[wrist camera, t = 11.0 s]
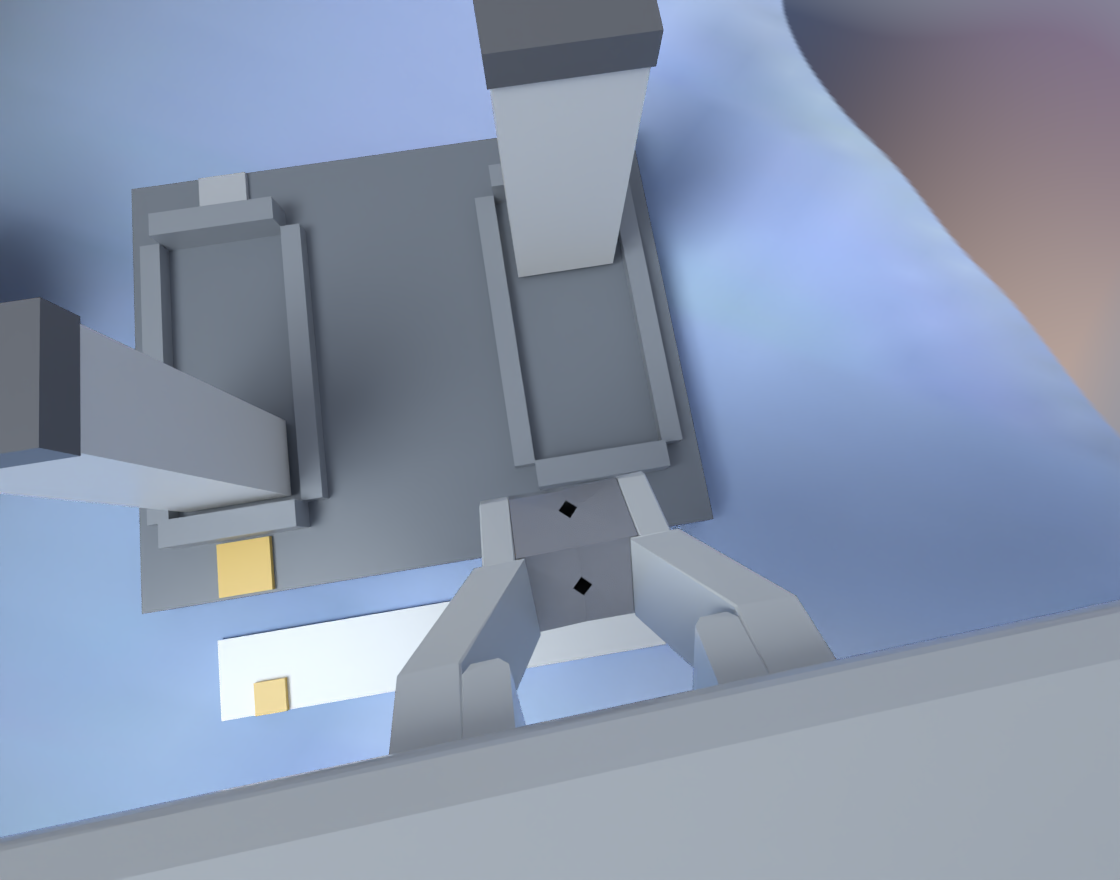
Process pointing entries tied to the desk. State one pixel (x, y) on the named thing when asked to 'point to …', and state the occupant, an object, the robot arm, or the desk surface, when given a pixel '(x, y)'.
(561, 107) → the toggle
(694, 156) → the desk surface
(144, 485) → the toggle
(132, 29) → the desk surface
